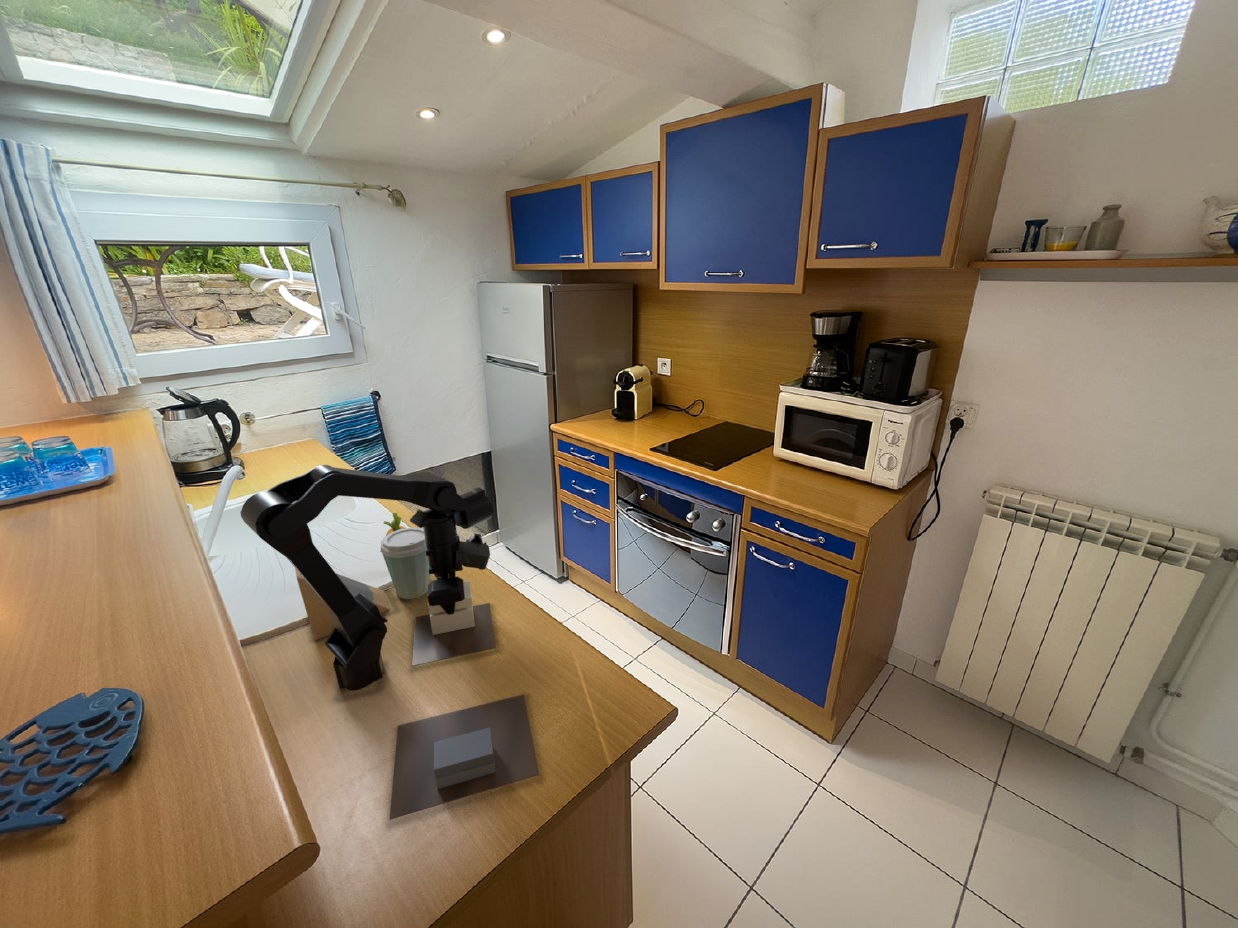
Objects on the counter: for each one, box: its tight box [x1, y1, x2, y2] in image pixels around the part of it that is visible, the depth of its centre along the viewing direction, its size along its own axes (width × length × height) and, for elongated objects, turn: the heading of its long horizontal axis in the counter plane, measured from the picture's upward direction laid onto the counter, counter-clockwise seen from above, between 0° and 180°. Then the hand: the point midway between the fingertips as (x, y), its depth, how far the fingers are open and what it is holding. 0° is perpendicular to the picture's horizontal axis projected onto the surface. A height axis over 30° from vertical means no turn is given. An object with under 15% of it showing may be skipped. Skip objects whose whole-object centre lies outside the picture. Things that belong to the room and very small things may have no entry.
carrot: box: [383, 512, 406, 537], centre depth 116 cm, size 5×5×15 cm
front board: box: [389, 694, 540, 820], centre depth 75 cm, size 20×15×1 cm
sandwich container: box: [294, 567, 391, 641], centre depth 101 cm, size 9×15×15 cm, turn 126°
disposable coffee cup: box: [380, 526, 431, 600], centre depth 108 cm, size 11×11×15 cm
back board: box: [411, 602, 497, 667], centre depth 98 cm, size 15×14×1 cm
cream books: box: [430, 604, 475, 635], centre depth 100 cm, size 8×6×4 cm
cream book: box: [427, 580, 473, 615], centre depth 98 cm, size 8×6×2 cm
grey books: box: [434, 728, 495, 789], centre depth 71 cm, size 8×4×4 cm, turn 109°
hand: (450, 604), depth 99 cm, fingers closed on cream book, 5 cm apart
